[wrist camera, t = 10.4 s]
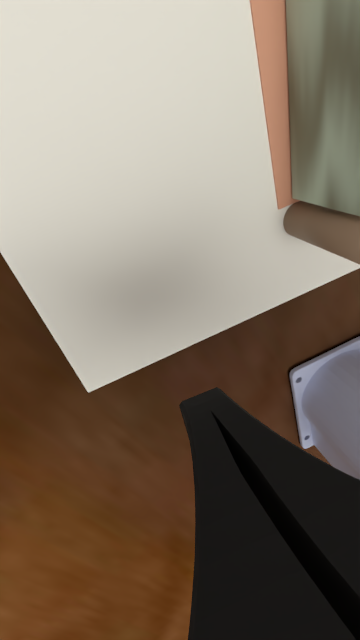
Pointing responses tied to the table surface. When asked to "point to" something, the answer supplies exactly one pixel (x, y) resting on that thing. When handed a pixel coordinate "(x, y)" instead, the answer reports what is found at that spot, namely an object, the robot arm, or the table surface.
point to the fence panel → (325, 102)
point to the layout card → (153, 175)
